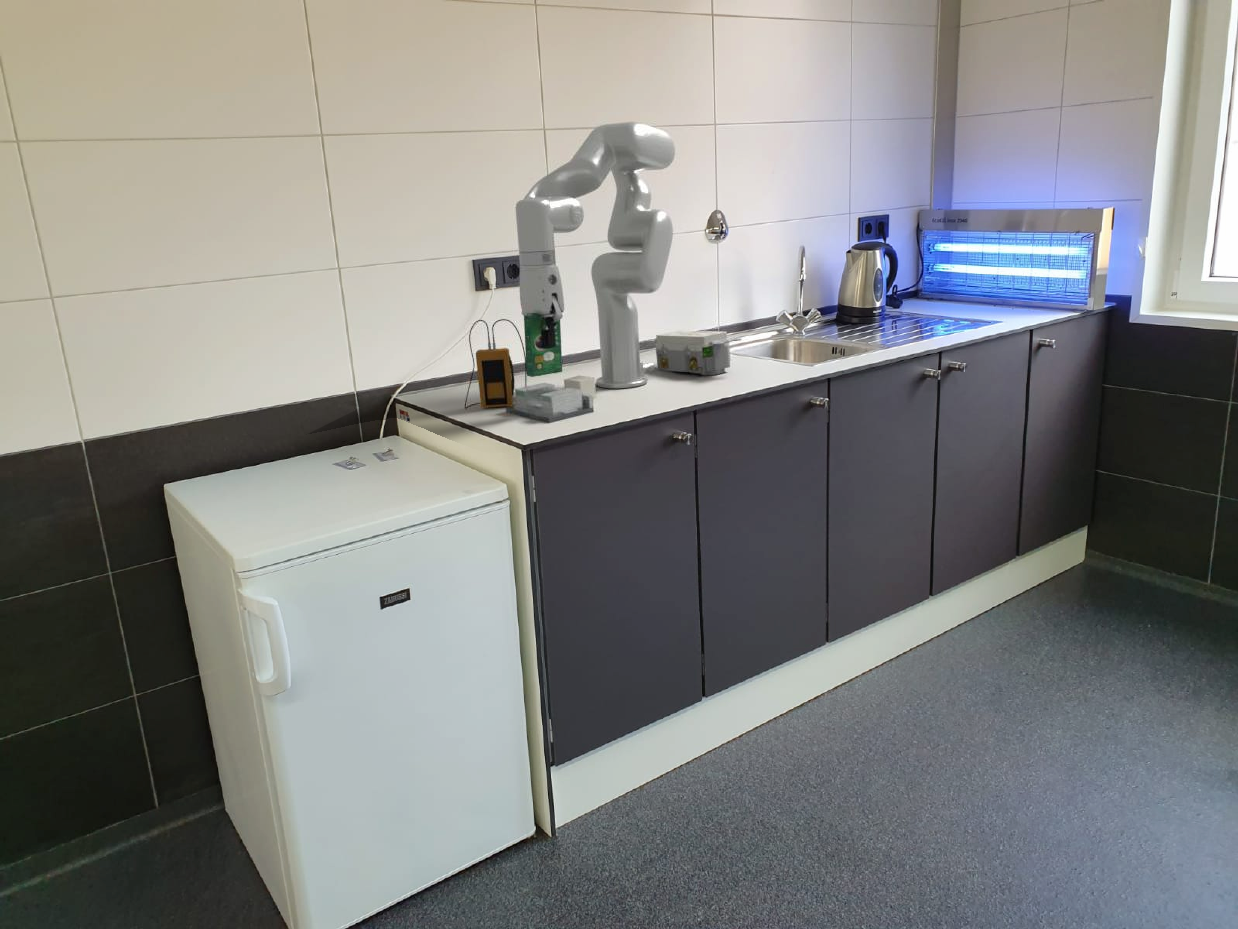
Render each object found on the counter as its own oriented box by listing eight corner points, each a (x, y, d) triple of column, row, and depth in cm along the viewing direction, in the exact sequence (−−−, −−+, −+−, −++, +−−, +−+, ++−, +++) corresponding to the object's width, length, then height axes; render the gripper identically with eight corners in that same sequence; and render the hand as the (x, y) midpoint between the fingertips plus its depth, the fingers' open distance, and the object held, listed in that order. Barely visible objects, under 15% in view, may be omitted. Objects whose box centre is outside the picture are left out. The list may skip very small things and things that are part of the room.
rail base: (549, 401, 212) (547, 380, 210) (593, 411, 200) (592, 389, 199) (506, 411, 204) (504, 389, 203) (549, 422, 193) (547, 399, 191)
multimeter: (531, 396, 218) (524, 312, 213) (529, 406, 209) (521, 317, 203) (469, 400, 218) (460, 315, 212) (464, 410, 209) (455, 321, 203)
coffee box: (556, 370, 203) (552, 310, 199) (564, 372, 201) (560, 311, 197) (526, 376, 198) (521, 314, 194) (533, 377, 196) (529, 315, 192)
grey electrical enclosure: (716, 379, 223) (713, 338, 221) (641, 373, 245) (637, 335, 243) (750, 371, 230) (747, 331, 227) (674, 365, 252) (670, 329, 250)
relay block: (579, 396, 216) (578, 375, 215) (595, 398, 213) (594, 377, 211) (565, 400, 212) (563, 379, 211) (581, 403, 209) (580, 381, 208)
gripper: (575, 259, 189) (581, 348, 194) (529, 257, 201) (535, 341, 206) (546, 262, 184) (553, 353, 190) (500, 260, 196) (508, 346, 202)
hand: (544, 346), depth 198 cm, fingers closed on coffee box, 3 cm apart
